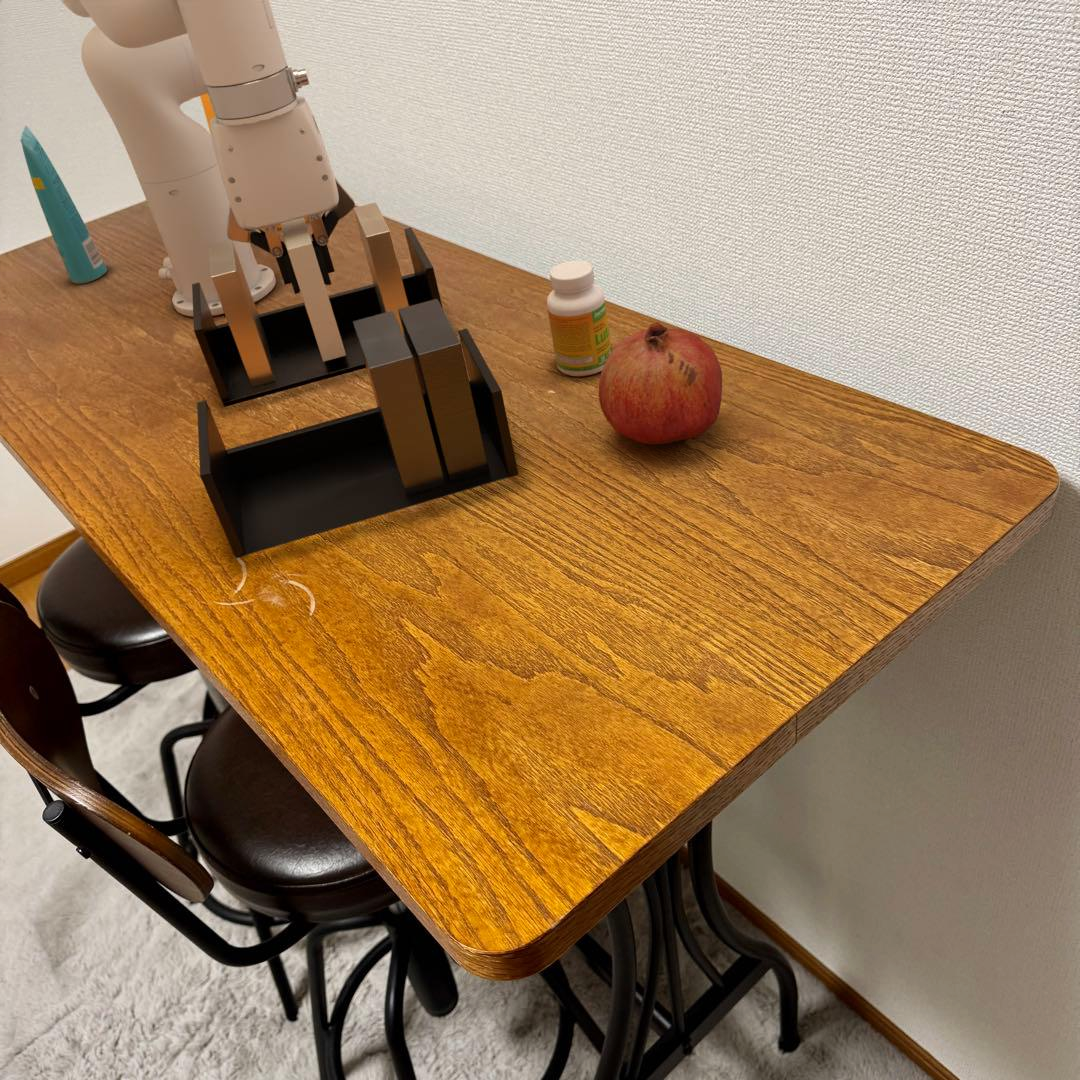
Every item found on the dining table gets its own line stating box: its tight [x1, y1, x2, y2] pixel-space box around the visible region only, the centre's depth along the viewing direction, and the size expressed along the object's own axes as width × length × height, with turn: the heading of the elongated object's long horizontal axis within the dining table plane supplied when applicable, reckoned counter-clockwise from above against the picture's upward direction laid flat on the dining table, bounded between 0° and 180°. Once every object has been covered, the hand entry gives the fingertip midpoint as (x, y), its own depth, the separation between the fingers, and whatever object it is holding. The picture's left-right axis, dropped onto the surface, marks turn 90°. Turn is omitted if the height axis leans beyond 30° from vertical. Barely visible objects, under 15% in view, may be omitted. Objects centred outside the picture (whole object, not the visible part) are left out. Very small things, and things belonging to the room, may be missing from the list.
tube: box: [19, 125, 108, 284], centre depth 135 cm, size 7×5×19 cm, turn 23°
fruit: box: [598, 321, 723, 445], centre depth 86 cm, size 11×10×10 cm
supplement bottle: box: [546, 260, 612, 377], centre depth 98 cm, size 5×5×10 cm
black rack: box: [196, 299, 519, 559], centre depth 86 cm, size 24×12×13 cm, turn 106°
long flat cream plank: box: [281, 218, 346, 362], centre depth 106 cm, size 2×9×12 cm, turn 16°
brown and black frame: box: [192, 202, 444, 408], centre depth 107 cm, size 24×12×13 cm, turn 106°
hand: (311, 282), depth 106 cm, fingers closed on long flat cream plank, 2 cm apart
